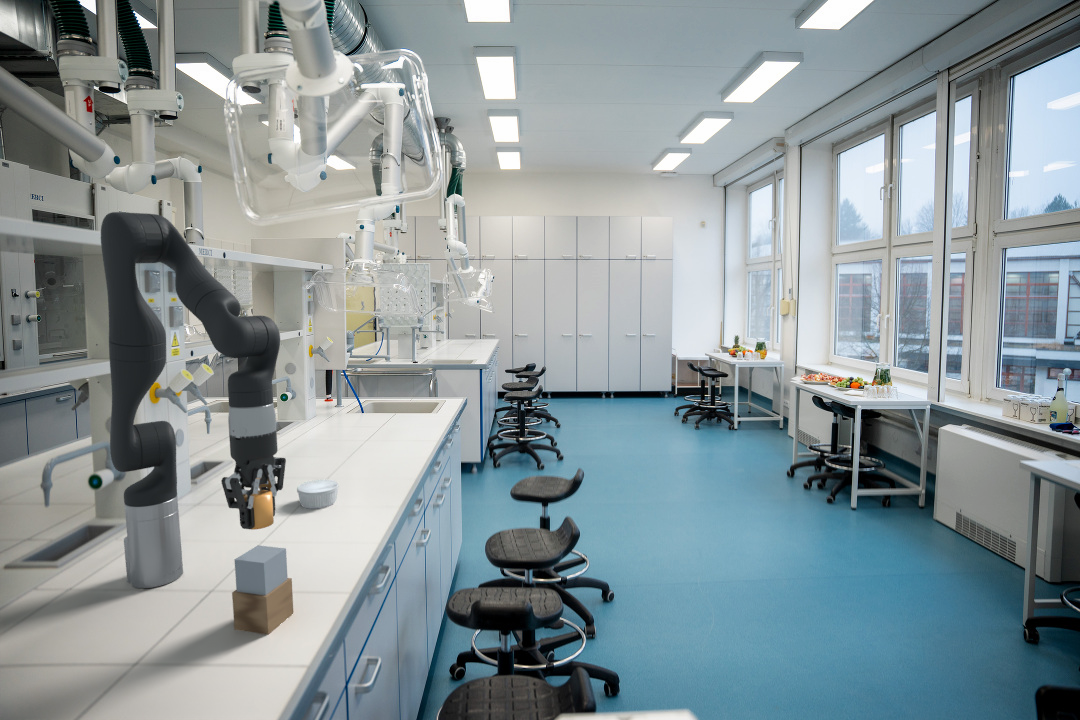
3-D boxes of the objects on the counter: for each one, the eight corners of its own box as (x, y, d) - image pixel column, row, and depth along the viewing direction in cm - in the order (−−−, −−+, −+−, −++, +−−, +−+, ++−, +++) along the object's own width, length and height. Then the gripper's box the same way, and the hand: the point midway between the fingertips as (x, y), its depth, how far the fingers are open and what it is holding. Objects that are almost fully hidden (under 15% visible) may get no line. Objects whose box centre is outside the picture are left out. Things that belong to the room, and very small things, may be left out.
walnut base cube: (234, 629, 106) (232, 592, 105) (261, 609, 113) (259, 574, 112) (268, 634, 104) (266, 597, 104) (293, 613, 111) (291, 578, 110)
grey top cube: (236, 591, 105) (234, 559, 105) (259, 575, 111) (257, 545, 111) (265, 595, 104) (263, 562, 103) (287, 579, 110) (285, 548, 109)
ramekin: (324, 512, 162) (323, 493, 161) (288, 508, 164) (288, 490, 164) (347, 498, 173) (346, 480, 172) (313, 495, 175) (312, 478, 175)
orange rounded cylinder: (238, 528, 105) (236, 498, 104) (256, 518, 109) (255, 489, 109) (261, 530, 103) (259, 500, 103) (279, 520, 108) (277, 491, 107)
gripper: (262, 419, 112) (267, 506, 114) (203, 438, 98) (210, 536, 100) (297, 421, 110) (301, 509, 112) (242, 440, 96) (248, 540, 98)
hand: (258, 522), depth 106 cm, fingers closed on orange rounded cylinder, 4 cm apart
